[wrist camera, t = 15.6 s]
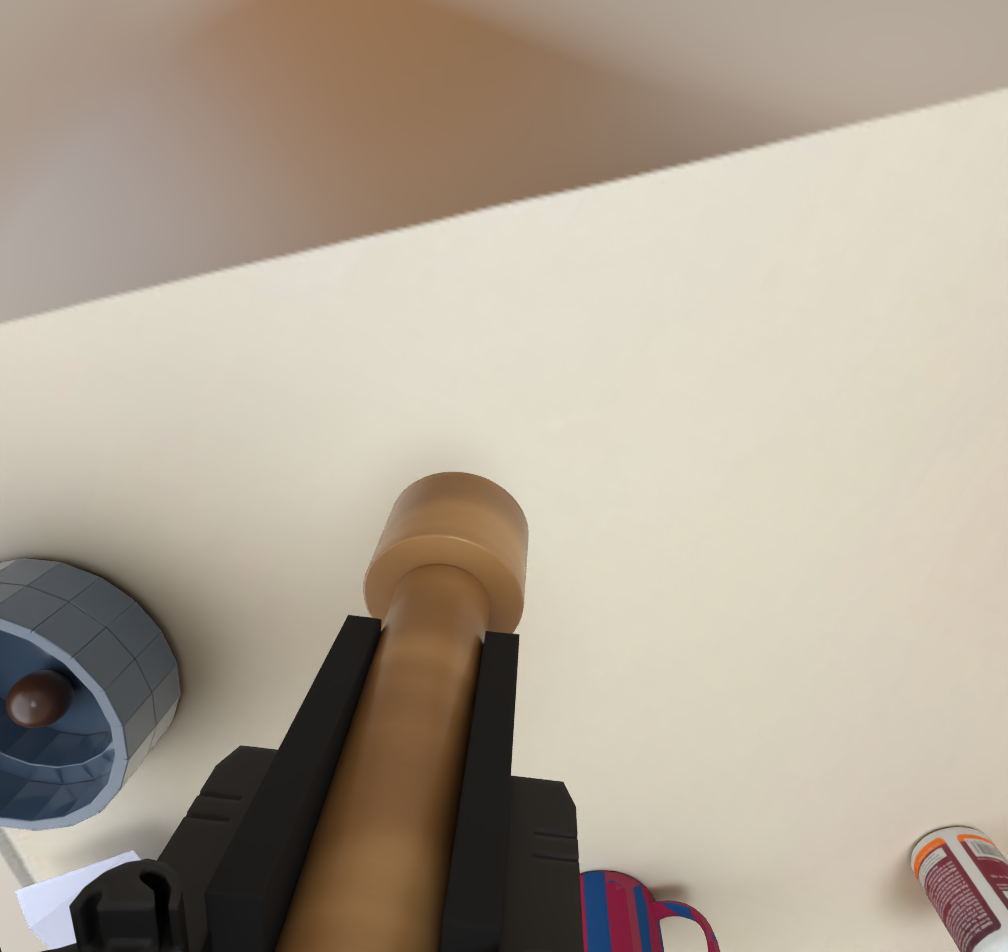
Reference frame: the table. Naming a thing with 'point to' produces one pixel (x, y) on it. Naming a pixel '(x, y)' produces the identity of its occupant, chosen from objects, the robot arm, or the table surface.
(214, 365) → the table surface
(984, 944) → the pill bottle
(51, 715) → the bead
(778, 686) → the table surface
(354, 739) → the muddler
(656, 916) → the mug
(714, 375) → the table surface
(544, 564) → the table surface
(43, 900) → the wedge on round base
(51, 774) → the bowl
